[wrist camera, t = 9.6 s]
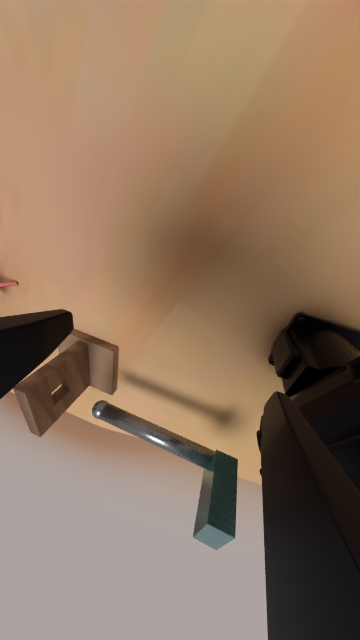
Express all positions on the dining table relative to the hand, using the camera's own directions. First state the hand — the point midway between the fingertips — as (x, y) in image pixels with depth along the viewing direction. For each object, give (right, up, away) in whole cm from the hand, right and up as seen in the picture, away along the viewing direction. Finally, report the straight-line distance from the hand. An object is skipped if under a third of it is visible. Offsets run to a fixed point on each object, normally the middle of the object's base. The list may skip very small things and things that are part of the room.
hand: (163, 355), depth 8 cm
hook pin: (-2, -12, +16) cm, 20 cm away
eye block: (-14, -5, +23) cm, 27 cm away
